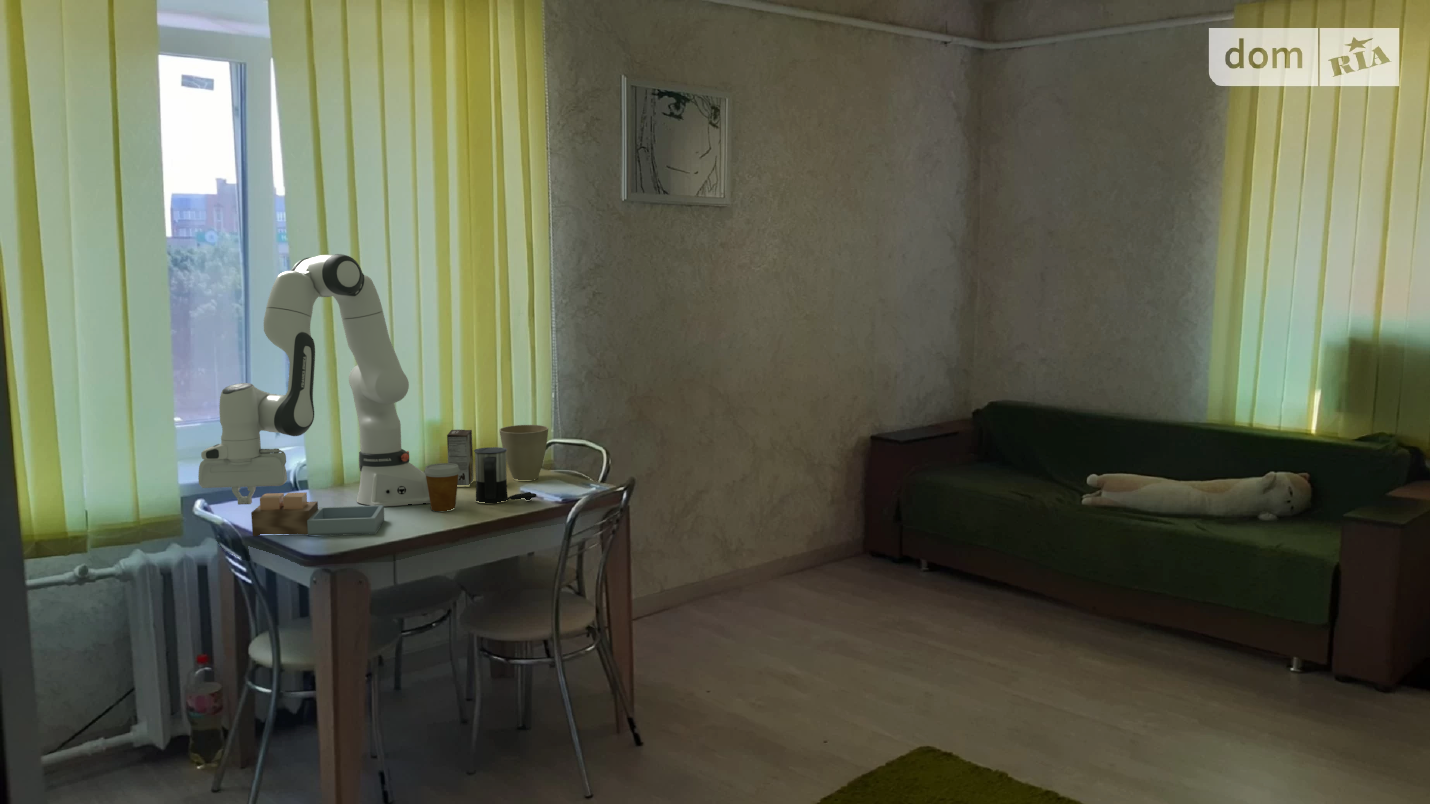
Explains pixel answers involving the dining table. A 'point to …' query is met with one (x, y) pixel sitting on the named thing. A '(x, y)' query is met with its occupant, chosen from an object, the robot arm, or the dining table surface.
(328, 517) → the box
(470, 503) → the dining table surface
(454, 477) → the disposable coffee cup
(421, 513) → the dining table surface
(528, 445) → the plant pot
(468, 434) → the coffee box
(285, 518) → the brown wooden box
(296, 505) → the tile
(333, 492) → the dining table surface
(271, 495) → the tile
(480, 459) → the milk frother
